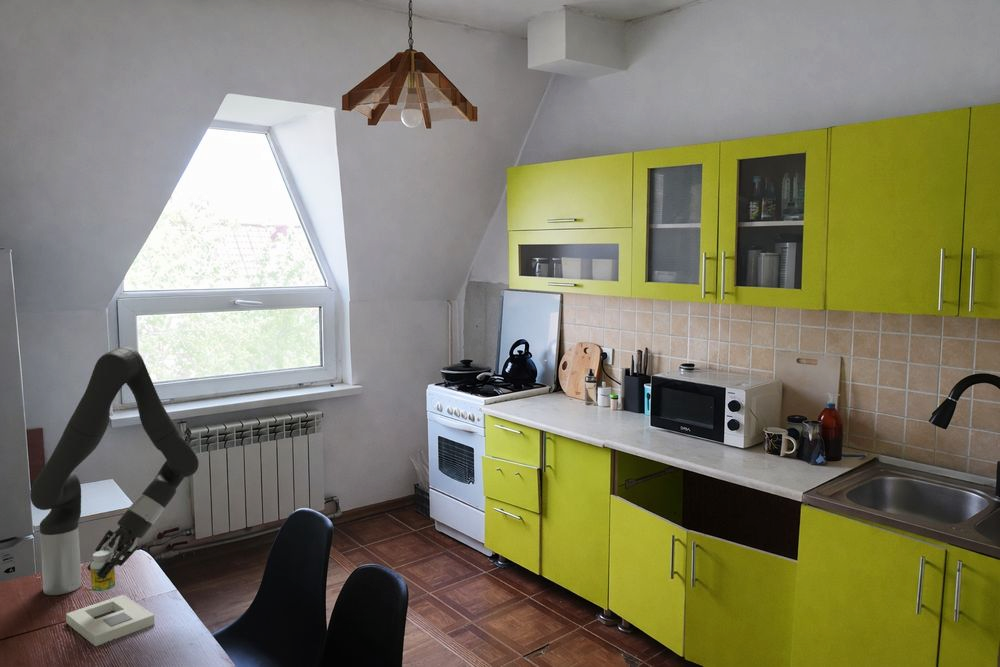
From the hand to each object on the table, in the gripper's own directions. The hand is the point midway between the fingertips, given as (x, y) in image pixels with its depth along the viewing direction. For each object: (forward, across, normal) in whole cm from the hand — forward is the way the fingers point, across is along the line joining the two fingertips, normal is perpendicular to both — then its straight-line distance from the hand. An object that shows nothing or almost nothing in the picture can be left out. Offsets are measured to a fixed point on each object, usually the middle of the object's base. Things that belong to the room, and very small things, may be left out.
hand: (95, 573), depth 182 cm
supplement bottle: (+2, 0, +5) cm, 5 cm away
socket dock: (+8, +4, +10) cm, 13 cm away
